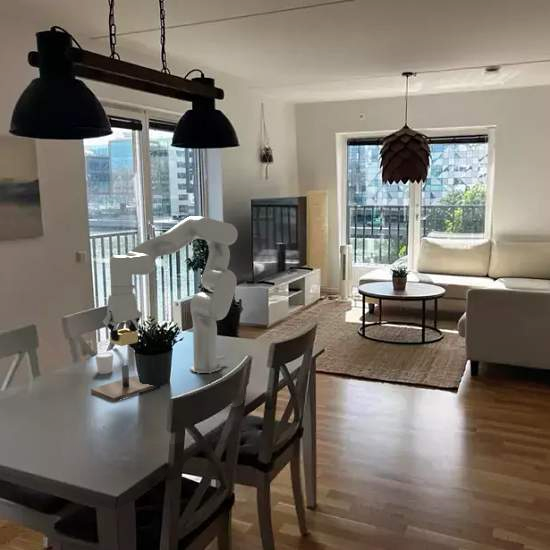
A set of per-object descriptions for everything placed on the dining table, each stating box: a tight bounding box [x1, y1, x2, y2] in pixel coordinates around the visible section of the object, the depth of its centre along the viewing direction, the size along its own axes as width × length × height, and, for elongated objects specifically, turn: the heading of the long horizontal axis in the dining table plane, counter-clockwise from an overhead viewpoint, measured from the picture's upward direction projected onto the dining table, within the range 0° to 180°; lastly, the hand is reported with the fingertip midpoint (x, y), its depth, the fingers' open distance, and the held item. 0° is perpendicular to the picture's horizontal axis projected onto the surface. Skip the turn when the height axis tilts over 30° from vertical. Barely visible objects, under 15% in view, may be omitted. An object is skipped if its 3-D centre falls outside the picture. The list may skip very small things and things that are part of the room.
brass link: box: [109, 328, 139, 347], centre depth 205 cm, size 7×7×4 cm
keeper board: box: [90, 374, 154, 403], centre depth 208 cm, size 20×14×2 cm
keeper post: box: [121, 363, 130, 387], centre depth 207 cm, size 2×2×8 cm
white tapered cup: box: [95, 352, 114, 375], centre depth 228 cm, size 7×7×7 cm
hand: (123, 338), depth 205 cm, fingers closed on brass link, 7 cm apart
